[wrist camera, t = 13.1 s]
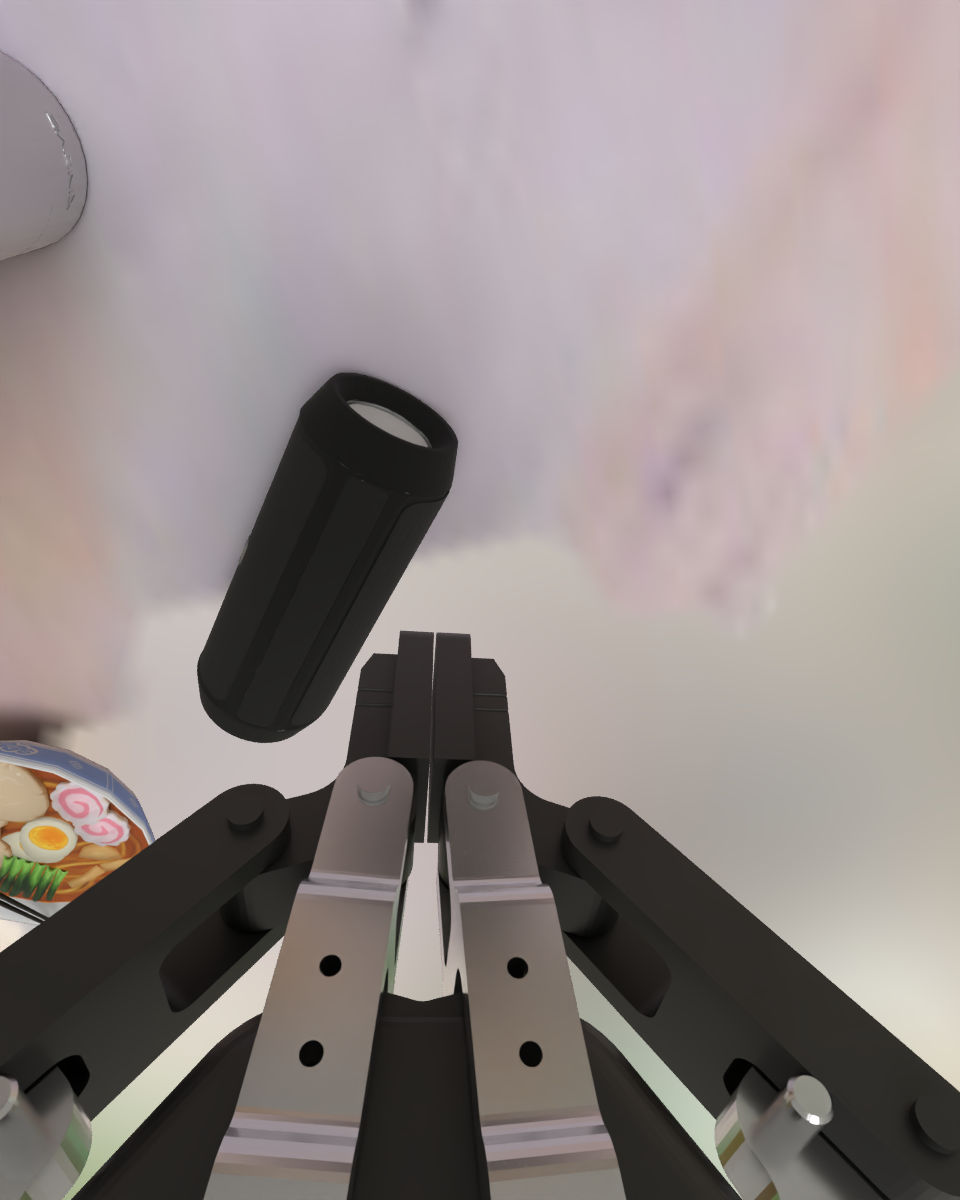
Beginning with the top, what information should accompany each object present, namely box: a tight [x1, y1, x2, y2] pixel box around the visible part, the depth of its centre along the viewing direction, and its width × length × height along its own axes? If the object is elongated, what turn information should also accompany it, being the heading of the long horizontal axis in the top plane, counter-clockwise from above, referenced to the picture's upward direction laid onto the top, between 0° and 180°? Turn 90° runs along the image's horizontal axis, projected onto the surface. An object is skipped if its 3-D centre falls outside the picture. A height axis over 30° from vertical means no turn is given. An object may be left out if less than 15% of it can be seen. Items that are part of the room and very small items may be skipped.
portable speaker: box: [197, 373, 458, 743], centre depth 47 cm, size 26×10×10 cm, turn 151°
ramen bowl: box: [0, 740, 155, 925], centre depth 61 cm, size 25×23×8 cm
